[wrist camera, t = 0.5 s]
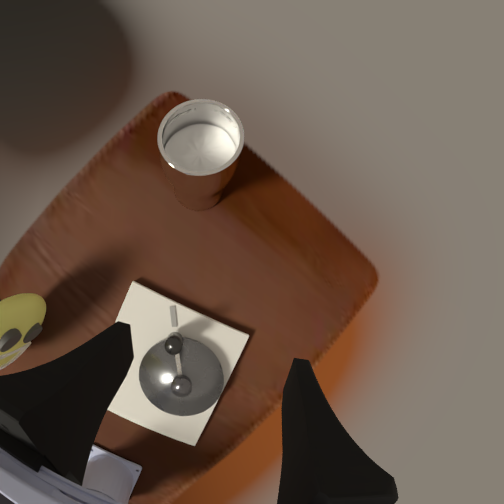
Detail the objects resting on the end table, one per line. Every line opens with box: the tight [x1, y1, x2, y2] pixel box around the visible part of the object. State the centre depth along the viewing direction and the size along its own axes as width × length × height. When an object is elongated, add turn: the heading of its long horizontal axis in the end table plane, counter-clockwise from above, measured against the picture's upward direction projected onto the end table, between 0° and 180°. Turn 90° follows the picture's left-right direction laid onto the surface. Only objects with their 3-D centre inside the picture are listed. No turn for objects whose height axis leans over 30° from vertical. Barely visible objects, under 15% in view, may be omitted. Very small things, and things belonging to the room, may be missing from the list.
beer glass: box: [157, 99, 244, 211], centre depth 29 cm, size 7×7×15 cm
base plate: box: [107, 281, 249, 446], centre depth 33 cm, size 17×15×1 cm
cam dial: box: [139, 332, 224, 416], centre depth 31 cm, size 11×10×4 cm
